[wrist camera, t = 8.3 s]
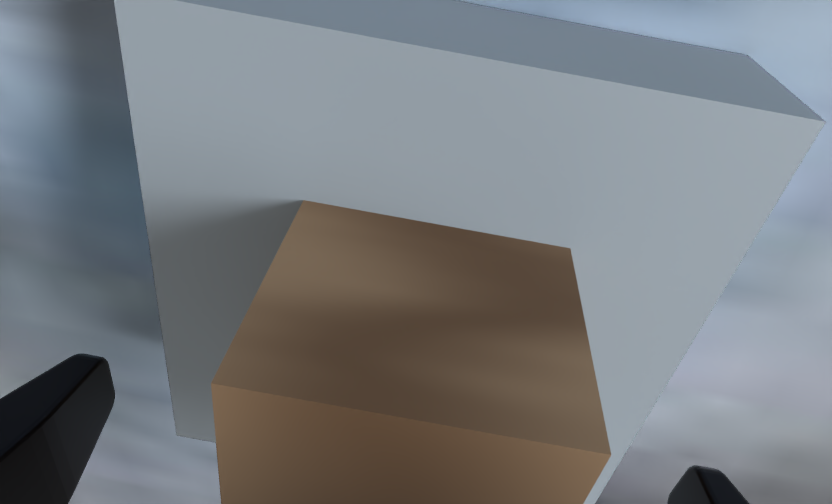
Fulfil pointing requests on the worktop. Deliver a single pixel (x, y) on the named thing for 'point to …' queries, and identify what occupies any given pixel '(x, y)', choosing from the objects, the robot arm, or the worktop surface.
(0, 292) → the worktop surface
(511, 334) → the walnut block
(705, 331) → the worktop surface
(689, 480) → the robot arm
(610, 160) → the base slab
